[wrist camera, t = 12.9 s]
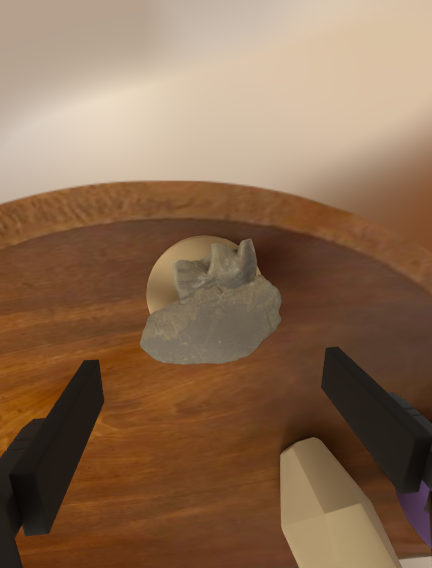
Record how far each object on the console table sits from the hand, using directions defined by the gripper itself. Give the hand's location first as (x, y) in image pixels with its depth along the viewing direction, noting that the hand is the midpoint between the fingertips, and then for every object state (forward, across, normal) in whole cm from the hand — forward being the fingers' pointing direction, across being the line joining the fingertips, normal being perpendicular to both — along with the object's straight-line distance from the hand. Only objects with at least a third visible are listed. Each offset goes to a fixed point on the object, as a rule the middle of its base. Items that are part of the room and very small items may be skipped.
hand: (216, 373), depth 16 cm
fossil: (+15, 0, 0) cm, 15 cm away
